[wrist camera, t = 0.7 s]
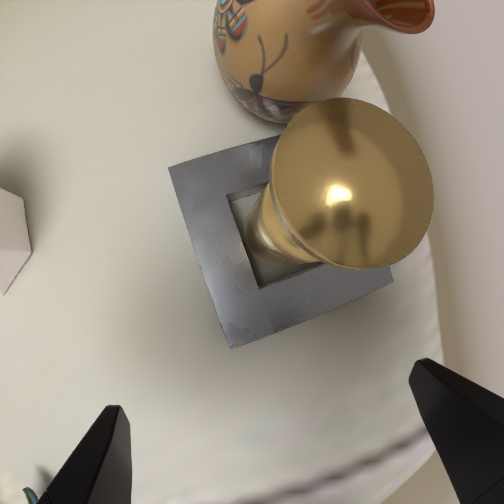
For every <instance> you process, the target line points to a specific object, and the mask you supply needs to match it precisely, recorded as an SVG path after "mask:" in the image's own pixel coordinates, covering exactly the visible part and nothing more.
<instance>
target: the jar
mask: <svg viewBox="0 0 504 504" xmlns="http://www.w3.org/2000/svg"><path fill="white" fill-rule="evenodd" d="M31 253H32V251H31V246H30V241H29V235H28V229H27V223H26V216H25V209H24V201H23V199H22V198H21V197H19V196H17V195H15V194H12V193H10V192H8V191H6V190H4V189H2V188H0V295H4V293H5V292H6V290H7V289H8V287H9V286H10V284H11V283H12V281H13V280H14V278H15V277H16V275H17V274H18V272H19V271H20V269H21V268H22V266H23V265H24V264H25V262H26V261H27V259H28V258H29V257H30V255H31Z"/></svg>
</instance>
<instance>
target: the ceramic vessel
mask: <svg viewBox="0 0 504 504" xmlns="http://www.w3.org/2000/svg"><path fill="white" fill-rule="evenodd" d="M434 14H435V7H434V1H433V0H218V1H217V4H216V8H215V13H214V20H213V45H214V51H215V56H216V60H217V64H218V67H219V70H220V72H221V75H222V77H223V79H224V81H225V83H226V85H227V86H228V88H229V90H230V91H231V92H232V94H233V95H234V96H235V98H236V99H237V100H238V101H239V102H240V103H241V104H242V105H243V106H244V107H245V108H246V109H248V110H249V111H250V112H252V113H253V114H255V115H257V116H258V117H260V118H263V119H265V120H268V121H271V122H275V123H283V124H288V123H289V122H290V121H291V120H292V118H293V117H294V116H295V115H296V114H298V113H299V112H300V111H301V110H302V109H304V108H306V107H307V106H309V105H311V104H313V103H315V102H318V101H321V100H325V99H329V98H339V97H340V96H341V94H342V93H343V92H344V90H345V89H346V87H347V86H348V84H349V82H350V80H351V78H352V76H353V74H354V72H355V69H356V67H357V64H358V60H359V57H360V52H361V46H362V32H363V31H362V29H363V28H379V29H384V30H389V31H393V32H398V33H403V34H417V33H421V32H423V31H425V30H426V29H427V28H429V26H430V25H431V23H432V22H433V19H434Z"/></svg>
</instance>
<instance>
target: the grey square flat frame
mask: <svg viewBox="0 0 504 504" xmlns="http://www.w3.org/2000/svg"><path fill="white" fill-rule="evenodd" d="M280 137H281V135H278V136H274V137H270V138H266V139H262V140H258V141H255V142H251V143H247V144H243V145H240V146H236V147H233V148H229V149H226V150H222V151H219V152H216V153H212V154H209V155H206V156H202V157H199V158H196V159H193V160H190V161H187V162H184V163H180V164H177V165H174V166H171V167H168V169H169V172H170V176H171V179H172V182H173V185H174V189H175V192H176V195H177V198H178V201H179V204H180V208H181V211H182V214H183V217H184V220H185V223H186V226H187V229H188V232H189V235H190V238H191V241H192V244H193V247H194V250H195V253H196V256H197V259H198V262H199V264H200V267H201V270H202V273H203V276H204V279H205V282H206V284H207V287H208V290H209V293H210V296H211V298H212V301H213V304H214V307H215V309H216V312H217V315H218V317H219V320H220V323H221V326H222V328H223V331H224V333H225V336H226V339H227V341H228V344H229V347H230V349H233V348H236V347H239V346H241V345H244V344H247V343H250V342H252V341H255V340H258V339H260V338H263V337H266V336H268V335H271V334H273V333H276V332H278V331H281V330H284V329H286V328H289V327H291V326H294V325H296V324H298V323H301V322H303V321H306V320H308V319H311V318H313V317H315V316H318V315H320V314H323V313H325V312H327V311H330V310H332V309H334V308H337V307H339V306H341V305H343V304H346V303H348V302H350V301H352V300H355V299H357V298H359V297H361V296H363V295H366V294H368V293H370V292H372V291H374V290H376V289H379V288H381V287H383V286H385V285H387V284H389V283H391V282H393V278H392V274H391V271H390V268H389V266H386V267H381V268H376V269H360V270H350V269H341V268H338V267H334V266H330V265H328V264H326V263H323V262H322V263H319V264H317V265H314V266H312V267H309V268H306V269H304V270H301V271H298V272H296V273H293V274H290V275H288V276H285V277H282V278H280V279H277V280H274V281H272V282H269V283H266V284H263V285H261V286H258V285H257V282H256V280H255V277H254V274H253V271H252V268H251V265H250V263H249V260H248V257H247V254H246V251H245V249H244V246H243V243H242V240H241V237H240V234H239V232H238V229H237V226H236V223H235V220H234V217H233V214H232V212H231V209H230V206H229V203H228V202H230V201H233V200H237V199H240V198H243V197H246V196H249V195H252V194H256V193H259V192H262V191H264V189H265V187H266V186H267V184H268V183H269V169H270V162H271V158H272V154H273V151H274V149H275V147H276V144H277V142H278V140H279V139H280Z"/></svg>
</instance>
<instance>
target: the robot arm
mask: <svg viewBox="0 0 504 504" xmlns="http://www.w3.org/2000/svg"><path fill="white" fill-rule="evenodd" d="M409 385H410V387H411V390H412V393H413V395H414V398H415V401H416V403H417V406H418V409H419V412H420V414H421V417H422V419H423V422H424V424H425V426H426V428H427V430H428V432H429V434H430V437H431V439H432V441H433V443H434V445H435V447H436V449H437V451H438V453H439V456H440V458H441V460H442V462H443V464H444V467H445V469H446V471H447V474H448V476H449V478H450V480H451V483H452V485H453V487H454V490H455V492H456V494H457V497H458V499H459V501H460V504H504V398H502V397H500V396H498V395H496V394H494V393H493V392H491V391H489V390H487V389H485V388H483V387H481V386H480V385H478V384H476V383H474V382H472V381H470V380H468V379H466V378H465V377H463V376H461V375H459V374H457V373H455V372H453V371H452V370H450V369H448V368H446V367H444V366H442V365H440V364H439V363H437V362H435V361H433V360H431V359H429V358H423V359H420V360H417V361H416V362H415V364H414V366H413V369H412V371H411V374H410V376H409ZM131 489H132V458H131V435H130V423H129V421H128V419H127V417H126V414H125V412H124V410H123V408H122V407H121V406H120V405H108V406H106V407H105V408H104V410H103V411H102V412H101V414H100V415H99V416H98V418H97V419H96V421H95V422H94V423H93V425H92V426H91V427H90V429H89V430H88V432H87V433H86V434H85V436H84V437H83V438H82V440H81V441H80V443H79V444H78V445H77V447H76V448H75V450H74V451H73V452H72V454H71V455H70V456H69V458H68V459H67V461H66V462H65V464H64V465H63V466H62V468H61V469H60V471H59V472H58V473H57V475H56V476H55V478H54V479H53V480H52V482H51V483H50V485H49V486H48V488H47V489H46V490H47V491H45V492H44V493H43V495H42V496H41V497H40V499H39V500H38V502H37V503H36V504H131Z"/></svg>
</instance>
